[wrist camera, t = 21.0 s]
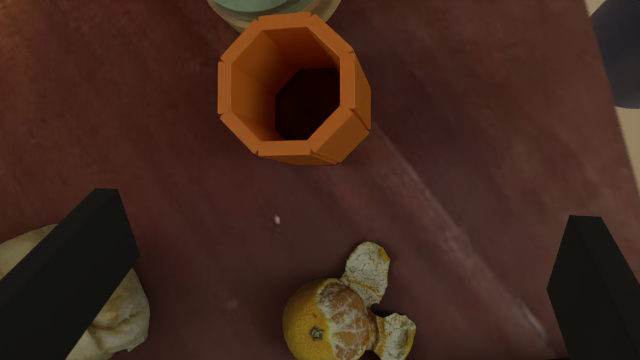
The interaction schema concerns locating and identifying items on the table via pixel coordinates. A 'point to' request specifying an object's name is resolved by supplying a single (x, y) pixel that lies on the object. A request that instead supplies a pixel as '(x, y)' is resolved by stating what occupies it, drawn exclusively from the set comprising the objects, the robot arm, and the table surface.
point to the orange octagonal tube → (275, 71)
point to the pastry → (112, 321)
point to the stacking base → (316, 7)
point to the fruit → (347, 314)
